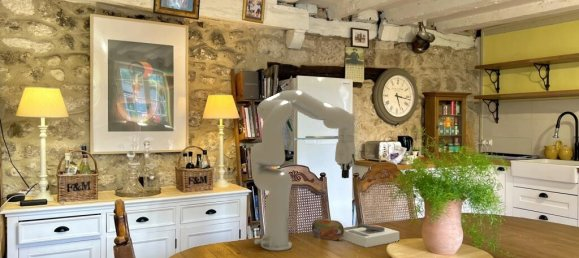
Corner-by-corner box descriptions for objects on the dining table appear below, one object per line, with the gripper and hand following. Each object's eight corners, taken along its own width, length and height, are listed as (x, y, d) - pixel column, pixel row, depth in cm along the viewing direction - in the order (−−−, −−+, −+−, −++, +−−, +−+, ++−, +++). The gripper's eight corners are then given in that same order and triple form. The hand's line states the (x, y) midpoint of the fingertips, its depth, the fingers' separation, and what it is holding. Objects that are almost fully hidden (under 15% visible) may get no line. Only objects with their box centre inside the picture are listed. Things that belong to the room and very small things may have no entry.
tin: (311, 236, 193) (311, 217, 193) (314, 234, 195) (315, 216, 195) (341, 242, 184) (341, 222, 184) (344, 240, 187) (345, 221, 187)
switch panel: (366, 247, 176) (366, 236, 176) (343, 239, 188) (343, 229, 188) (399, 240, 188) (399, 230, 188) (375, 233, 199) (376, 223, 199)
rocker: (368, 229, 182) (368, 225, 183) (358, 226, 187) (359, 222, 188) (384, 230, 188) (384, 227, 188) (374, 227, 193) (374, 224, 193)
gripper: (329, 138, 207) (329, 176, 208) (350, 140, 195) (350, 180, 195) (341, 138, 212) (340, 175, 212) (362, 140, 199) (362, 179, 200)
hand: (345, 177), depth 204 cm, fingers closed
